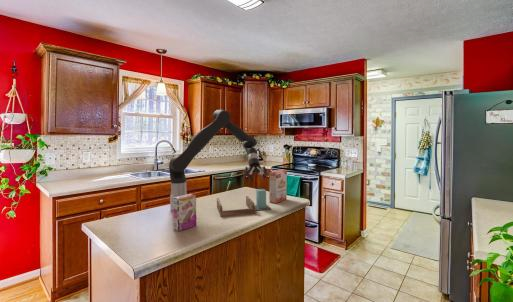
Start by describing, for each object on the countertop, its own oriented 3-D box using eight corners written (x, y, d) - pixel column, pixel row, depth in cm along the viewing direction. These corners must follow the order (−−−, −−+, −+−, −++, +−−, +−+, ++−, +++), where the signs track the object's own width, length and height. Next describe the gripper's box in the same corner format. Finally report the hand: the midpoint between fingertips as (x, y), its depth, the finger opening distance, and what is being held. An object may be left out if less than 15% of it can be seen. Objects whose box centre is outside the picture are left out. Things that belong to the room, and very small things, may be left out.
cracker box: (276, 203, 179) (276, 172, 177) (269, 202, 182) (268, 172, 181) (287, 199, 190) (287, 170, 188) (280, 198, 193) (279, 169, 192)
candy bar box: (178, 232, 130) (177, 199, 129) (172, 229, 133) (171, 197, 132) (197, 225, 139) (196, 194, 137) (191, 223, 142) (190, 193, 141)
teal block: (256, 206, 171) (256, 189, 170) (263, 205, 173) (263, 188, 172) (258, 208, 166) (258, 191, 166) (266, 207, 168) (266, 190, 167)
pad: (251, 206, 173) (251, 205, 173) (266, 205, 175) (266, 204, 175) (255, 210, 163) (255, 210, 163) (271, 209, 166) (271, 208, 166)
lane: (216, 207, 171) (216, 198, 171) (247, 204, 176) (247, 196, 176) (220, 216, 153) (220, 206, 152) (255, 213, 158) (254, 203, 157)
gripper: (244, 157, 183) (247, 177, 172) (264, 157, 186) (269, 176, 176) (242, 164, 188) (246, 183, 178) (262, 163, 191) (266, 182, 181)
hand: (257, 180), depth 177 cm, fingers open, 8 cm apart
